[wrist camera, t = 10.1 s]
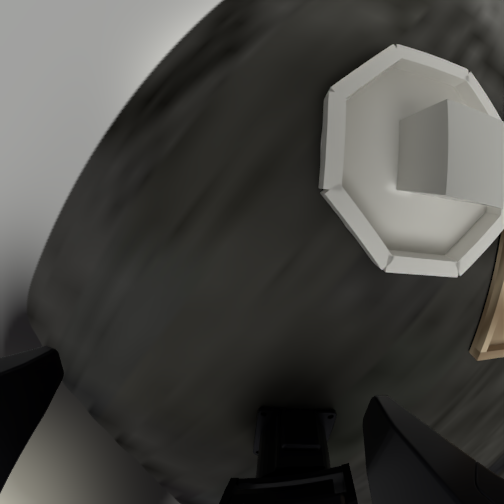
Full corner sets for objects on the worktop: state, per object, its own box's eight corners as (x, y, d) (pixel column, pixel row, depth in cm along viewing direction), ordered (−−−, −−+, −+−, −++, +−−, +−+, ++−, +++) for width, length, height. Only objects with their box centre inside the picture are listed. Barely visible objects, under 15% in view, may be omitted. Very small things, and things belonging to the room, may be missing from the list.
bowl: (480, 270, 18) (497, 280, 15) (310, 255, 18) (314, 266, 16) (491, 95, 14) (508, 89, 12) (323, 45, 15) (329, 29, 13)
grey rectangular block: (446, 199, 16) (503, 208, 10) (396, 190, 16) (445, 195, 11) (449, 133, 15) (504, 122, 9) (399, 120, 15) (447, 98, 10)
